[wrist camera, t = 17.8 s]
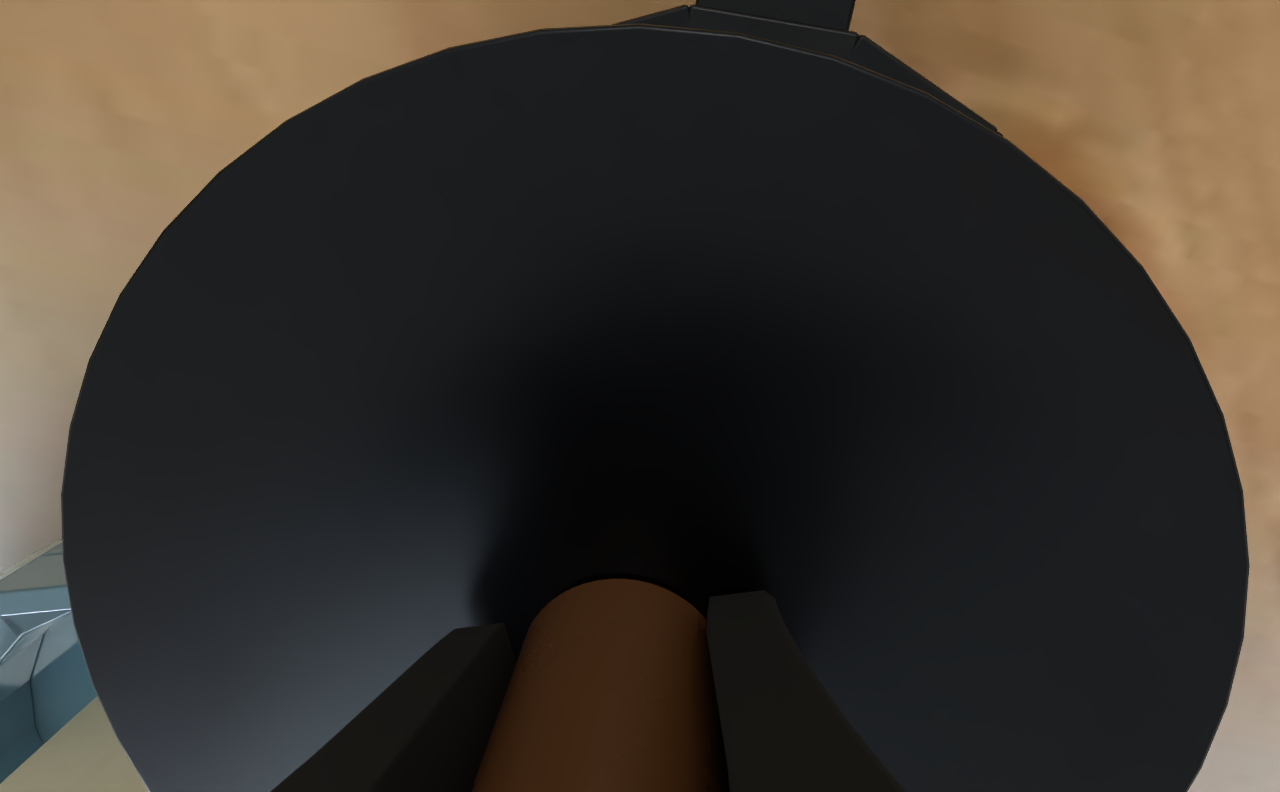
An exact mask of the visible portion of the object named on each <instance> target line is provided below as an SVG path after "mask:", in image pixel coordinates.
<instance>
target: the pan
mask: <svg viewBox="0 0 1280 792" xmlns="http://www.w3.org/2000/svg"><path fill="white" fill-rule="evenodd" d="M855 1H856V0H696V5H690V7H688V6H687V5H682V6H678V7H675V8H671V9H667V10H664V11H660V12H656V13H653V14H649V15H645V16H642V17H638V18H634V19H630V20H627V21H623V22H619V23H616V24H612V25H621V24H650V25H661V26H672V27H683V28H694V29H705V30H716V31H726V32H737V33H742V34H746V35H751V36H755V37H759V38H763V39H767V40H771V41H775V42H780V43H784V44H788V45H792V46H796V47H800V48H805V49H809V50H813V51H817V52H821V53H825V54H829V55H834V56H837V57H839V58H842V59H844V60H847V61H849V62H852V63H854V64H857V65H859V66H862V67H864V68H867V69H869V70H872V71H874V72H877V73H879V74H882V75H884V76H887V77H889V78H892V79H894V80H897V81H899V82H902V83H904V84H907V85H909V86H912V87H914V88H916V89H919V90H921V91H924V92H926V93H928V94H930V95H932V96H933V97H935V98H937V99H938V100H940V101H942V102H944V103H945V104H947V105H949V106H950V107H952V108H954V109H956V110H957V111H959V112H961V113H962V114H964V115H966V116H968V117H969V118H971V119H973V120H974V121H976V122H978V123H980V124H981V125H983V126H985V127H986V128H988V129H990V130H991V131H993V132H995V133H997V134H998V135H1000V136H1002V137H1003V135H1002V134H1001V133H1000V132H997V131H998V130H997V129H996V127H995V126H993V125H992V124H991V123H989V122H988V121H986V120H985V119H983V118H982V117H981V116H979V115H978V114H976V113H975V112H973V111H972V110H971V109H969V108H968V107H966V106H965V105H963V104H962V103H960V102H959V101H958V100H956V99H955V98H953V97H952V96H950V95H949V94H948V93H946V92H945V91H943V90H942V89H940V88H939V87H938V86H936V85H935V84H933V83H932V82H930V81H929V80H928V79H926V78H925V77H923V76H922V75H920V74H919V73H918V72H916V71H915V70H913V69H912V68H910V67H909V66H907V65H906V64H905V63H903V62H902V61H900V60H899V59H897V58H896V57H895V56H893V55H892V54H890V53H889V52H887V51H886V50H885V49H883V48H882V47H880V46H879V45H877V44H876V43H875V42H873V41H872V40H870V39H869V38H867V37H866V36H864V35H860V36H859V34H858V33H856V32H853V31H849V27H850V23H851V18H852V14H853V10H854V5H855ZM1003 138H1004V137H1003Z"/></svg>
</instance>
